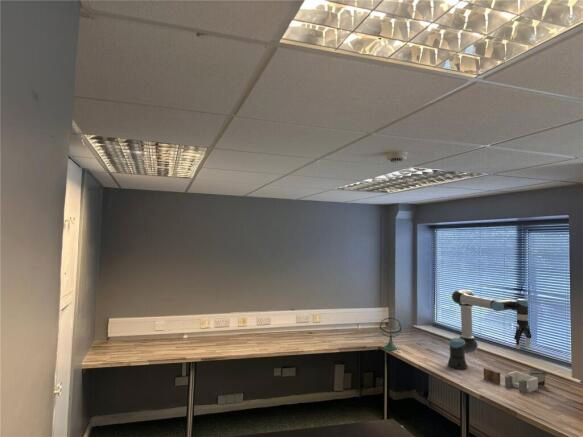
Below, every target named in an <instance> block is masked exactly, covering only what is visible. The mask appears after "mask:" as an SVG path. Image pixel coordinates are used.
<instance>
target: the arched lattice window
mask: <svg viewBox="0 0 583 437" xmlns="http://www.w3.org/2000/svg"><path fill="white" fill-rule="evenodd" d="M528 375H530V376H533V377H536V378H538V387H540V386H541V387H545V384H546V376H547V373H546V371H544V370H540V369H529V371H528Z"/></svg>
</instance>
